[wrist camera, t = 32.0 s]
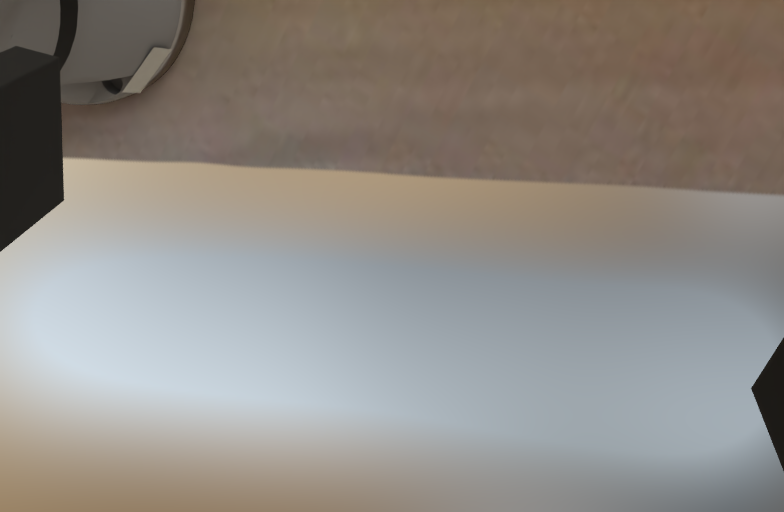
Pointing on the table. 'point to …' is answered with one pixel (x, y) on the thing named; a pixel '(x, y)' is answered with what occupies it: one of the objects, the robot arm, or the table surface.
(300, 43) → the table surface
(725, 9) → the table surface
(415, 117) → the table surface
